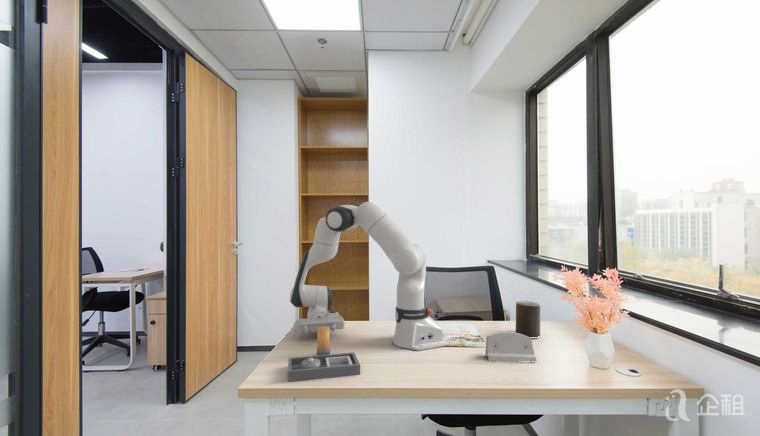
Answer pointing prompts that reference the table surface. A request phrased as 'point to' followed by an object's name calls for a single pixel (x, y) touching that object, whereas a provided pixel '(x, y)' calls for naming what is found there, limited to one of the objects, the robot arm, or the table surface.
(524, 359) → the hinge
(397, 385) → the table surface
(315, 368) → the dark grey sorting tray
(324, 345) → the wooden handle stamp
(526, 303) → the pillar candle
